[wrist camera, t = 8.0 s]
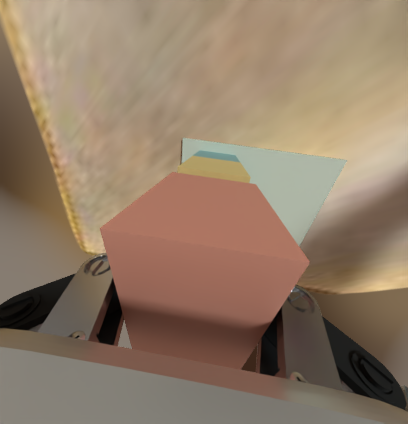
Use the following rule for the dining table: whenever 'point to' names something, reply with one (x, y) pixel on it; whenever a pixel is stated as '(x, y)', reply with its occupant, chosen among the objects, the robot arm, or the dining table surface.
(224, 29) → the dining table surface
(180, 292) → the brick
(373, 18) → the dining table surface
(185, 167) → the tower base
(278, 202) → the mat
